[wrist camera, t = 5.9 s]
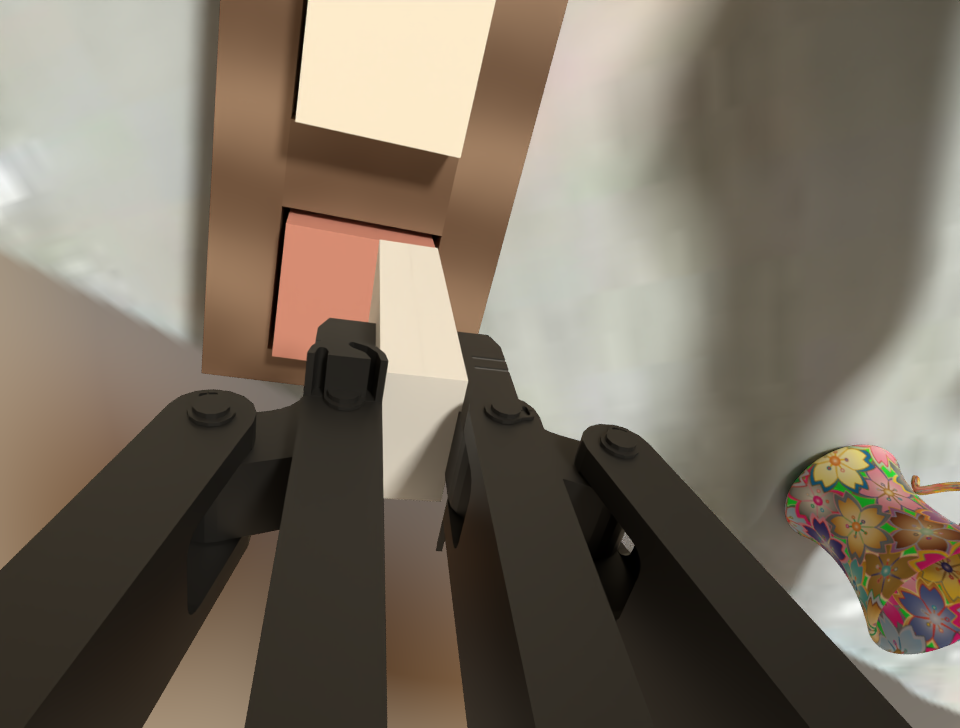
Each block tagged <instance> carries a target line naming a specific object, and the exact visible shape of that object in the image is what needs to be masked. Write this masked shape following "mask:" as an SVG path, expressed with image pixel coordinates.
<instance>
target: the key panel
mask: <svg viewBox="0 0 960 728" xmlns="http://www.w3.org/2000/svg"><path fill="white" fill-rule="evenodd" d="M567 3H568V0H496V2H495V6H494V11H493V15H492V20H491V24H490V29H489V33H488V38H487V42H486V46H485V51H484V55H483V60H482V64H481V69H480V73H479V78H478V82H477V87H476V91H475V96H474V100H473V104H472V109H471V113H470V118H469V122H468V127H467V131H466V136H465V140H464V145H463V149H462V154H461V158H457V157H453V156H448V155H444V154H439V153H435V152H430V151H426V150H421V149H417V148H412V147H408V146H403V145H399V144H394V143H389V142H385V141H380V140H376V139H371V138H367V137H362V136H358V135H353V134H349V133H344V132H340V131H335V130H331V129H326V128H322V127H317V126H313V125H308V124H304V123H299V122H295V120H296V111H297V101H298V92H299V82H300V73H301V63H302V54H303V44H304V35H305V25H306V16H307V6H308V0H220V15H219V35H218V55H217V75H216V94H215V114H214V134H213V154H212V174H211V194H210V214H209V234H208V254H207V274H206V294H205V314H204V334H203V354H202V373H205V374H213V375H221V376H229V377H237V378H245V379H254V380H262V381H270V382H279V383H287V384H295V385H303V386H304V382H305V371H306V361H305V360H298V359H290V358H282V357H275V356H272V351H273V341H274V332H275V323H276V313H277V304H278V295H279V285H280V276H281V266H282V257H283V248H284V238H285V229H286V222H287V219H288V216H289V213H290V210H291V208H295V209H301V210H306V211H311V212H316V213H322V214H327V215H332V216H338V217H343V218H348V219H354V220H359V221H364V222H370V223H375V224H380V225H386V226H391V227H396V228H402V229H407V230H412V231H418V232H423V233H428V234H431V235H432V238H433V242H434V245H435V248H438V252H439V256H440V260H441V265H442V269H443V273H444V278H445V282H446V286H447V291H448V295H449V300H450V304H451V308H452V313H453V317H454V321H455V326H456V330H457V331H458V332H466V333H474V334H478V333H479V329H480V325H481V322H482V318H483V314H484V310H485V307H486V303H487V299H488V296H489V292H490V288H491V284H492V281H493V277H494V273H495V270H496V266H497V262H498V259H499V255H500V251H501V247H502V244H503V240H504V236H505V233H506V229H507V225H508V221H509V218H510V214H511V210H512V207H513V203H514V199H515V196H516V192H517V188H518V184H519V181H520V177H521V173H522V170H523V166H524V162H525V158H526V155H527V151H528V147H529V144H530V140H531V136H532V132H533V129H534V125H535V121H536V118H537V114H538V110H539V107H540V103H541V99H542V95H543V92H544V88H545V84H546V81H547V77H548V73H549V69H550V66H551V62H552V58H553V55H554V51H555V47H556V44H557V40H558V36H559V32H560V29H561V25H562V21H563V18H564V14H565V10H566V6H567Z"/></svg>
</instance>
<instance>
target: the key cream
mask: <svg viewBox="0 0 960 728" xmlns="http://www.w3.org/2000/svg"><path fill="white" fill-rule="evenodd" d="M495 2H496V0H308V6H307V16H306V25H305V35H304V44H303V54H302V63H301V73H300V82H299V92H298V101H297V111H296V120H295V122H299V123H304V124H308V125H313V126H317V127H322V128H326V129H331V130H335V131H340V132H344V133H349V134H353V135H358V136H362V137H367V138H371V139H376V140H380V141H385V142H389V143H394V144H399V145H403V146H408V147H412V148H417V149H421V150H426V151H430V152H435V153H439V154H444V155H448V156H453V157H457V158H461V154H462V149H463V145H464V140H465V136H466V131H467V127H468V122H469V118H470V113H471V109H472V104H473V100H474V96H475V91H476V87H477V82H478V78H479V73H480V69H481V64H482V60H483V55H484V51H485V46H486V42H487V38H488V33H489V29H490V24H491V20H492V15H493V11H494V6H495Z"/></svg>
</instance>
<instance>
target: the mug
mask: <svg viewBox="0 0 960 728" xmlns="http://www.w3.org/2000/svg"><path fill="white" fill-rule="evenodd" d="M911 485H912V488H913V490H912V489H911V488H910V486H909V485H908V484H907V482H906V481H905V479H904V477H903V475H902V473H901V471H900V467H899V464H898V462H897V460H896V459H895V457H894V456H893V455H892V454H891V453H890V452H888V451H887V450H885V449H883V448H880V447H877V446H873V445H853V446H848V447H844V448H841V449H838V450H835V451H833V452H830V453H828V454H826V455H825V456H823V457H821V458H820V459H818V460H816V461H815V462H814V463H812V464H811V465H810V466H809V467H807V468H806V469H805V470H804V471H803V472H802V473H801V474H800V475H799V477H798V478H797V479H796V480H795V482H794V483H793V485H792V487H791V488H790V490H789V492H788V495H787V498H786V503H785V515H786V519H787V521H788V523H789V525H790V526H791V528H792V529H793V530H794V531H796V532H797V533H798V534H800V535H802V536H804V537H807V538H809V539H811V540H813V541H814V542H816V543H817V544H819V545H820V546H821V547H822V548H823V549H825V550H826V551H827V552H828V553H829V554H830V555H831V556H832V557H833V559H834V560H835V561H836V562H837V563H838V565H839V566H840V567H841V568H842V570H843V571H844V573H845V574H846V576H847V577H848V579H849V581H850V583H851V584H852V586H853V588H854V590H855V592H856V594H857V597H858V599H859V601H860V604H861V607H862V609H863V613H864V616H865V619H866V623H867V627H868V631H869V634H870V636H871V638H872V640H873V641H874V642H875V643H876V644H877V645H878V646H879V647H881V648H882V649H884V650H886V651H888V652H892V653H897V654H918V653H924V652H929V651H933V650H936V649H940V648H943V647H945V646H948V645H950V644H953V643H955V642H957V641H959V640H960V524H959V525H957V524H955V523H953V522H952V521H950V520H948V519H947V518H945V517H943V516H942V515H940V514H939V513H938V512H936V511H935V510H933V509H932V508H931V507H930V506H928V505H927V504H926V503H925V502H924V501H923V500H921V499H920V498H919V497H918V496H917V494H918V495H927V494H933V493H939V492H947V491H960V482H947V483H939V484H933V485H928V486H922V487H920V479H919V477H918V476H915V475H914V476H912V480H911Z"/></svg>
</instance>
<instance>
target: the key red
mask: <svg viewBox="0 0 960 728" xmlns="http://www.w3.org/2000/svg"><path fill="white" fill-rule="evenodd" d="M379 240H386V241H393V242H400V243H406V244H413V245H420V246H426V247H433V248H435V245H434V242H433V238H432V235H431V234H428V233H423V232H418V231H412V230H407V229H402V228H396V227H391V226H386V225H380V224H375V223H370V222H364V221H359V220H354V219H348V218H343V217H338V216H332V215H327V214H322V213H316V212H311V211H306V210H301V209H295V208H291V210H290V213H289V216H288V219H287V222H286V229H285V238H284V248H283V257H282V266H281V276H280V285H279V295H278V304H277V313H276V323H275V332H274V341H273V351H272V356H275V357H282V358H290V359H298V360H305V361H306V359H307V352H308V350H309V349H310V347H311V346H312V345H313V344H315V341H316V335H317V329H318V327H319V326H320V325H321V324H322V323H324V322H325V321H326V320H327V319H329V318H337V319H345V320H353V321H361V322H369V314H370V307H371V299H372V292H373V284H374V277H375V270H376V262H377V255H378V247H379Z"/></svg>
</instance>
